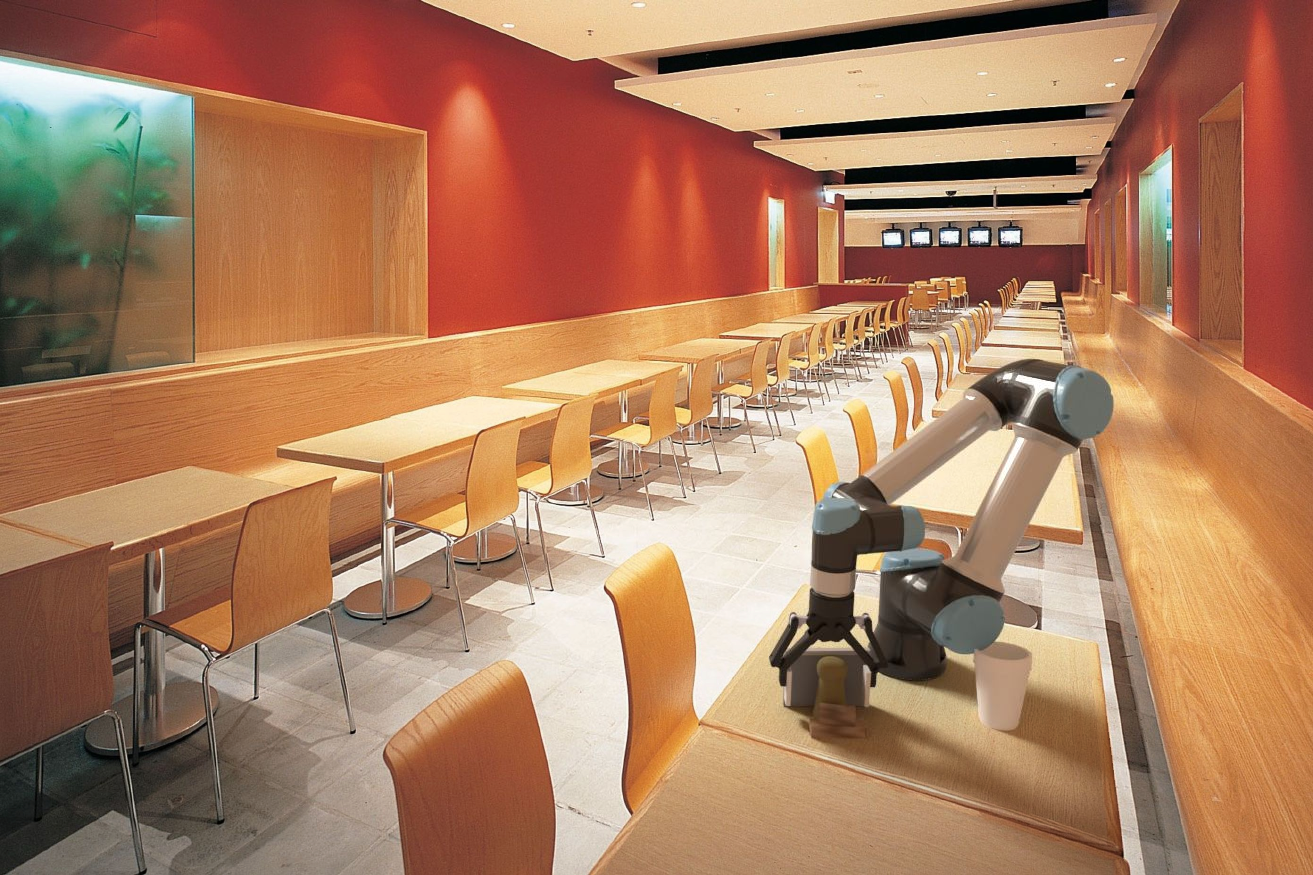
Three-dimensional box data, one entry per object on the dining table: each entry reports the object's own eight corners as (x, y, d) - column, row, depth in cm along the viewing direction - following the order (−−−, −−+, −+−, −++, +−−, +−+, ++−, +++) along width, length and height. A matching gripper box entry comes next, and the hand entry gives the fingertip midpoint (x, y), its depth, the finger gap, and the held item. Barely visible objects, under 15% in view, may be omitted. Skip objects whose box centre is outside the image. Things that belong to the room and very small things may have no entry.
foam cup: (1037, 734, 146) (1042, 660, 144) (984, 735, 145) (989, 661, 144) (1011, 710, 155) (1015, 640, 154) (961, 711, 155) (964, 641, 153)
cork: (805, 712, 153) (807, 655, 150) (834, 705, 155) (837, 649, 153) (824, 729, 147) (827, 670, 145) (854, 722, 150) (857, 664, 147)
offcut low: (861, 731, 148) (862, 718, 147) (864, 739, 145) (865, 726, 145) (808, 730, 148) (809, 717, 147) (811, 739, 145) (811, 726, 145)
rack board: (865, 702, 156) (868, 647, 154) (867, 705, 155) (870, 650, 153) (782, 702, 156) (784, 648, 154) (783, 706, 155) (785, 651, 152)
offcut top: (854, 719, 147) (855, 706, 146) (855, 727, 144) (855, 713, 144) (819, 715, 148) (819, 702, 147) (818, 723, 146) (819, 710, 145)
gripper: (900, 581, 150) (891, 692, 155) (756, 579, 150) (752, 690, 155) (911, 598, 143) (903, 714, 147) (761, 597, 143) (756, 712, 148)
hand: (825, 702), depth 151 cm, fingers open, 13 cm apart
